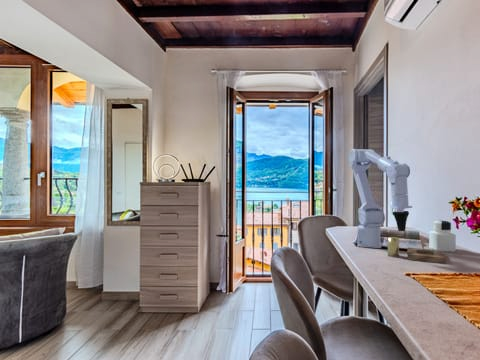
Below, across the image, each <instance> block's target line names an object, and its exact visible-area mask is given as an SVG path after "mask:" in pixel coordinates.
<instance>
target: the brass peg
mask: <svg viewBox="0 0 480 360" xmlns="http://www.w3.org/2000/svg"><path fill="white" fill-rule="evenodd" d="M387 256H388V257H391V258H399V257H400V238H399V237H396V236H387Z"/></svg>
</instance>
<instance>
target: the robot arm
mask: <svg viewBox="0 0 480 360" xmlns="http://www.w3.org/2000/svg"><path fill="white" fill-rule="evenodd" d="M348 154H349V155H348V160H349V164H350V168H351V169H352V174H353V177H354V180H355V183H356V187H357V191H358V195H359V198H360V202H361V206H360V207H359V208H358V210H357V212H358V213H357V215H358V218H357V219H358V221H359V222H358V223H360V224H359V225H357V238H356V239H357V245H356V246H357V247H364V248H373V249H374V248H375V249H381V248H382V243H381V227H383V224H384V223H385V221H386V216H385V215H386V214H385V213H384V211H383V210H382V207H381V206H380V205H379V204H377V203H375V199H374V196H373V192H372V189H371V186H370V182H369V179H368V175H367V172H366V171H367V170H369V168H370V167H371V165H372V163H374V164H376V165H377V168H378V169H379V170H381V171H382V172H383V173H386V175H387V177H388V181H389V184H390V192H391V209H395V210H397V211H392V212H391V213H392V216H393V217H394V218H395V222H396V226H397V230H398V232H405V231H406V228H407V226H406V225H407V219H408V218H409V217H408V216H409V214H410V213H409V210H405V209H412V208H413V206H412V205H409V192H408V191H409V190H408V189H409V188H408V177H409V176H410V174H411V169H410V166H409V165H408V164H407V163H399V161H397V160H394V159H393V158H392V157H391V156H388V155H387V156H381V155H380V154H378V153H377V152H376V151H375V150H374V149H372V148H369V149H365V148H364V149H363V148H362V149H361V148H359V149H358V148H357V149H356V148H352V149H351V150H350V152H349V153H348Z"/></svg>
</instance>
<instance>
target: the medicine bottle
mask: <svg viewBox="0 0 480 360" xmlns="http://www.w3.org/2000/svg"><path fill="white" fill-rule="evenodd" d="M451 230H452V223H451V222H449V221H448V220H434V221H433V230H430V231H429V232H428V233H429V236H428V237H429V239H428V240H429V242H428V243H429V244H428V245H429V246H428V247H429V248H430V249H431V250H442V251H443V253H444V252H446V253H447V252H448V253H449V252H452V253H455V252H456V248H457V247H456V246H457V245H456V242H457V241H456V240H457V239H456V238H457V237H456V236H457V235H456V234H455V233H452V232H451Z"/></svg>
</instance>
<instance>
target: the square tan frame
mask: <svg viewBox="0 0 480 360" xmlns="http://www.w3.org/2000/svg"><path fill="white" fill-rule="evenodd" d="M406 251H407V253H406V254H407V260H408V261H417V262H426V263H436V264H447V257H446V256H445V253H444V252H443V251H442V250H434V249H432V248H430V249H429V248H419V247H417V248H416V247H407V250H406Z"/></svg>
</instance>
